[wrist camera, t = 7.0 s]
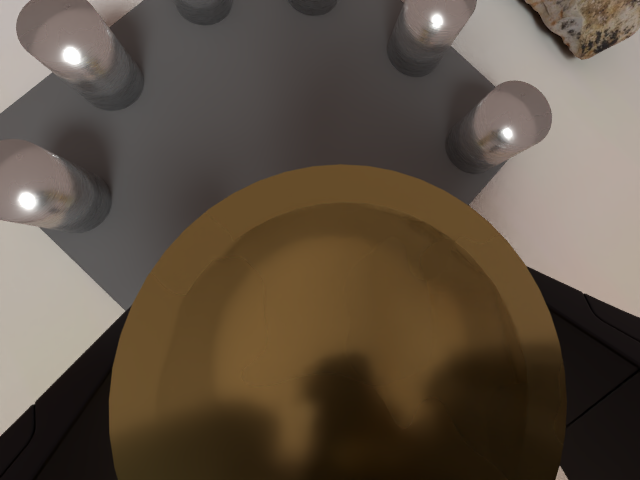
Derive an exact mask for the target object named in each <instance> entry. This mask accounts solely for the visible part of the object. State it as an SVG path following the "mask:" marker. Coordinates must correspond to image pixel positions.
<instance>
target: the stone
mask: <svg viewBox="0 0 640 480" xmlns="http://www.w3.org/2000/svg"><path fill="white" fill-rule="evenodd" d="M525 2H526V3H527V4H530V5H531V6H532V8H533V9H534V10H535V11H537V12H538V13H539V14H540V16H541V18H542V20H543V22H544V24H545V25H546V26H547V27H548V28H549V29H550V30H551V31H552V32H554V33H556V34H558V35H559V36H561V37H562V39H563V42H564V43H565V44H566V45H567V46H568V47H569V50H570V51H572V52H573V54H574V55H575V56H576V57H578V58H580V59H581V60H583V59H588V58H590V57H592V56H594V55H596V54H598V53H599V52H601V51H603V50H605V49H607V48H609V47H611V46H613V45H615V44H617V43H619V42H621V41H623V40H625V39H627V38H629V37H630V36H632V35H633V34H634V33H635V32H636V31H637V30H638V29H639V28H640V0H525Z"/></svg>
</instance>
